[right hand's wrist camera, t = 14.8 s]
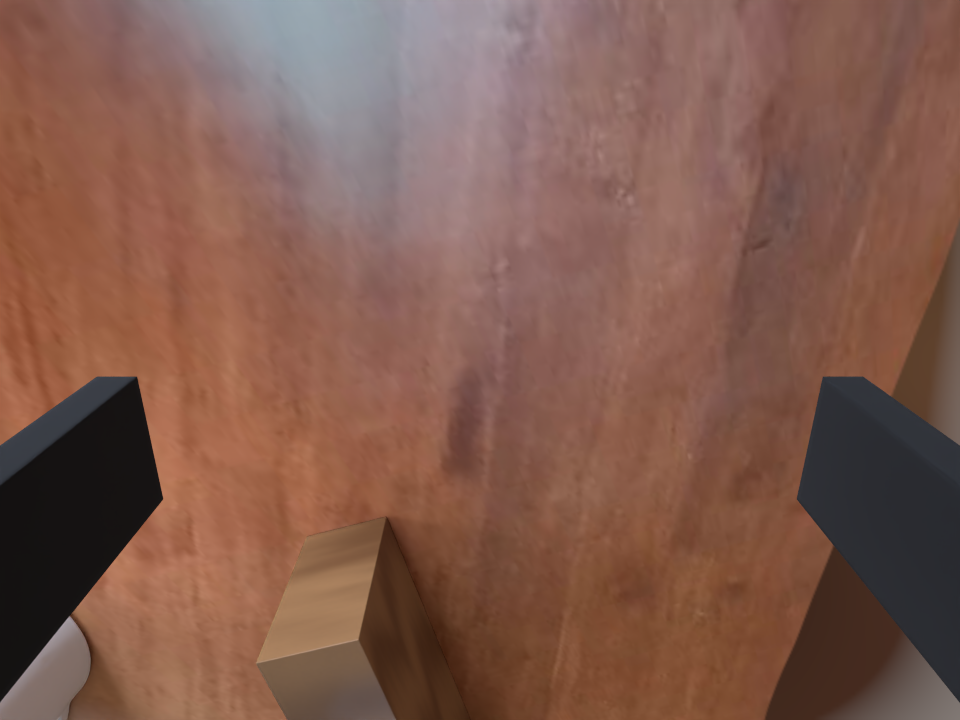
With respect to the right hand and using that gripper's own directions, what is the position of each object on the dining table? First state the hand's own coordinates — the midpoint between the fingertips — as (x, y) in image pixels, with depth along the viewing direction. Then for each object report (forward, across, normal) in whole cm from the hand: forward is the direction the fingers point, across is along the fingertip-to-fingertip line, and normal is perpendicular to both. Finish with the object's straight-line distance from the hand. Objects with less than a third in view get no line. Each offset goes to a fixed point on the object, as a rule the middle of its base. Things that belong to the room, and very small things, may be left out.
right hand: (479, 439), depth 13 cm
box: (+29, -6, -36) cm, 46 cm away
